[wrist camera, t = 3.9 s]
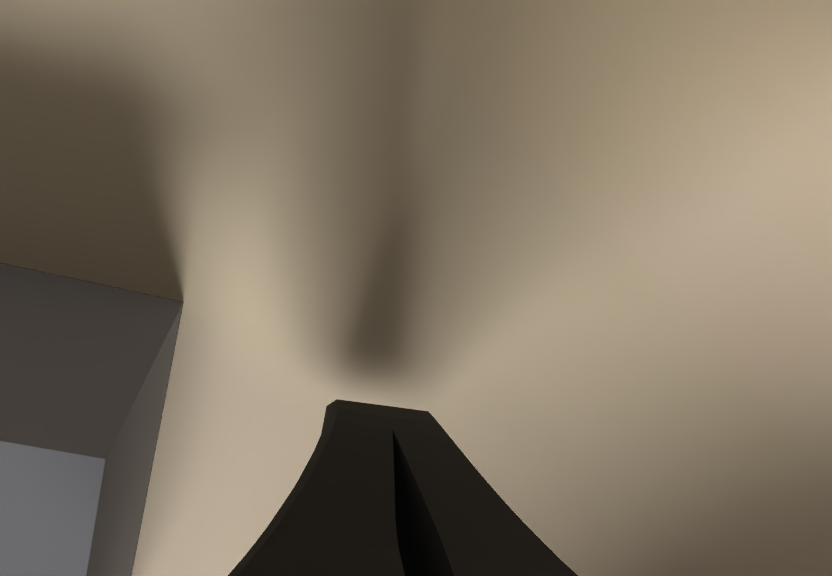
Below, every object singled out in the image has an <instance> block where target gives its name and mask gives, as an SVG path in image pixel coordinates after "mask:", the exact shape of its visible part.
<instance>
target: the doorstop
mask: <svg viewBox="0 0 832 576" xmlns="http://www.w3.org/2000/svg"><path fill="white" fill-rule="evenodd" d="M182 308H183V302H181V301H176V300H171V299H167V298H162V297H157V296H153V295H148V294H143V293H138V292H134V291H129V290H124V289H120V288H115V287H110V286H106V285H101V284H96V283H91V282H87V281H82V280H77V279H73V278H68V277H63V276H59V275H54V274H49V273H45V272H40V271H35V270H30V269H26V268H21V267H16V266H12V265H7V264H2V263H0V576H131V575H132V570H133V565H134V559H135V554H136V549H137V544H138V538H139V533H140V528H141V523H142V517H143V512H144V507H145V502H146V496H147V491H148V486H149V481H150V475H151V470H152V465H153V460H154V454H155V449H156V444H157V439H158V433H159V428H160V423H161V418H162V412H163V407H164V402H165V397H166V391H167V386H168V381H169V376H170V370H171V365H172V360H173V355H174V349H175V344H176V339H177V334H178V328H179V323H180V318H181V313H182Z"/></svg>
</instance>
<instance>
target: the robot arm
mask: <svg viewBox="0 0 832 576" xmlns="http://www.w3.org/2000/svg"><path fill="white" fill-rule="evenodd" d="M228 576H578V575H576V574H575V573H574V572H573V571H572V570H571V569H570V568H569V567H568V566H567V565H566V564H565V563H563V562H562V561H561V560H560V559H559V558H558V557H557V556H556V555H555V554H554V553H553V552H552V551H551V550H550V549H549V548H548V547H547V546H546V545H545V544H544V543H543V542H542V541H541V540H540V539H539V538H538V537H537V536H536V535H535V534H534V533H533V532H532V531H531V530H530V529H529V528H528V527H527V526H526V525H525V524H524V523H523V522H522V520H521V519H520V518H519V517H518V516H517V515H516V514H515V513H514V512H513V511H512V510H511V509H510V508H509V506H508V505H507V504H506V503H505V502H504V501H503V500H502V499H501V498H500V496H499V495H498V494H497V493H496V492H495V491H494V490H493V488H492V487H491V486H490V485H489V484H488V483H487V482H486V480H485V479H484V478H483V477H482V476H481V474H480V473H479V472H478V471H477V470H476V469H475V467H474V466H473V465H472V464H471V463H470V461H469V460H468V459H467V458H466V456H465V455H464V454H463V453H462V452H461V450H460V449H459V448H458V447H457V445H456V444H455V443H454V442H453V440H452V439H451V438H450V437H449V436H448V434H447V433H446V432H445V431H444V429H443V428H442V427H441V426H440V424H439V423H438V422H437V421H436V420H435V418H434V417H433V416H432V415H431V414H430V413H429V412H428V411H421V410H413V409H405V408H398V407H390V406H382V405H375V404H367V403H360V402H352V401H344V400H335V401H334V402H332V403H331V404H329V405H328V406H327V407H326V412H325V418H324V423H323V428H322V433H321V436H320V439H319V441H318V443H317V446H316V448H315V450H314V452H313V454H312V456H311V458H310V460H309V462H308V463H307V465H306V467H305V469H304V471H303V473H302V475H301V476H300V478H299V480H298V482H297V483H296V485H295V487H294V488H293V490H292V491H291V493H290V494H289V496H288V497H287V499H286V500H285V502H284V503H283V505H282V506H281V508H280V509H279V511H278V512H277V514H276V515H275V517H274V518H273V520H272V521H271V523H270V524H269V525H268V527H267V528H266V530H265V531H264V532H263V533H262V535H261V536H260V537H259V539H258V540H257V541H256V543H255V544H254V545H253V546H252V548H251V549H250V550H249V551H248V553H247V554H246V555H245V556H244V557H243V559H242V560H241V561H240V562H239V563H238V565H237V566H236V567H235V568H234V569H233V570H232V572H231V573H230V574H229V575H228Z"/></svg>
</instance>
